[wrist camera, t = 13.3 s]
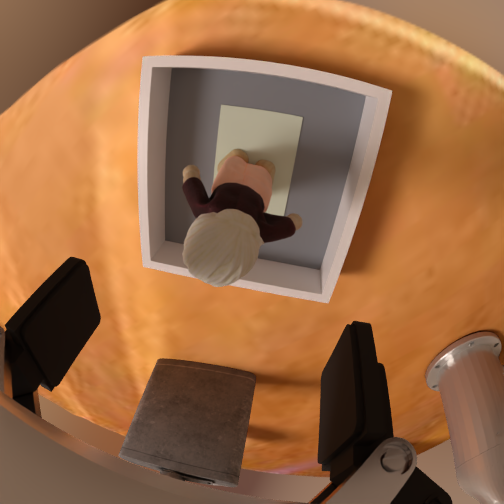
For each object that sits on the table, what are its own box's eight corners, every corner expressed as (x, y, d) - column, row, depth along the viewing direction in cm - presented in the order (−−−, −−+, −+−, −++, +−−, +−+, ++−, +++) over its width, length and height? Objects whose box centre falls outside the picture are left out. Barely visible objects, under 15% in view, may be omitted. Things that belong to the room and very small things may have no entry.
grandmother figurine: (202, 184, 24) (127, 280, 13) (209, 139, 21) (125, 205, 11) (295, 208, 24) (291, 325, 13) (309, 163, 21) (321, 255, 11)
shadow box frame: (376, 88, 18) (392, 90, 15) (325, 274, 27) (328, 303, 24) (166, 58, 19) (142, 56, 15) (160, 242, 28) (143, 266, 25)
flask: (153, 353, 38) (106, 465, 23) (256, 369, 37) (232, 500, 22) (159, 368, 40) (118, 474, 25) (256, 383, 39) (234, 504, 24)
